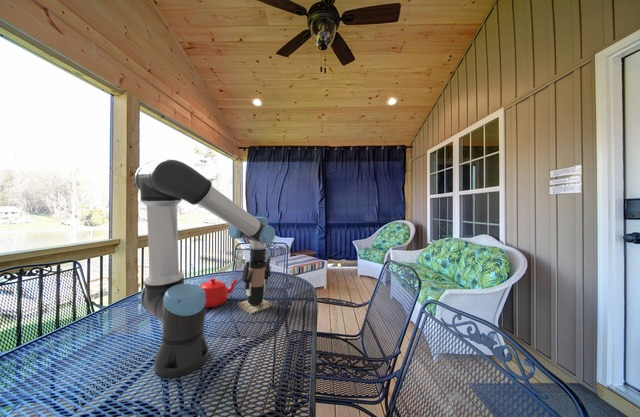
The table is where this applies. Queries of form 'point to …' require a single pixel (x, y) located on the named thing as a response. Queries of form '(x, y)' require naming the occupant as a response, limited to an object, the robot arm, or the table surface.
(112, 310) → the table surface
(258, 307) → the trivet
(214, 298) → the teapot
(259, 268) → the travel mug
